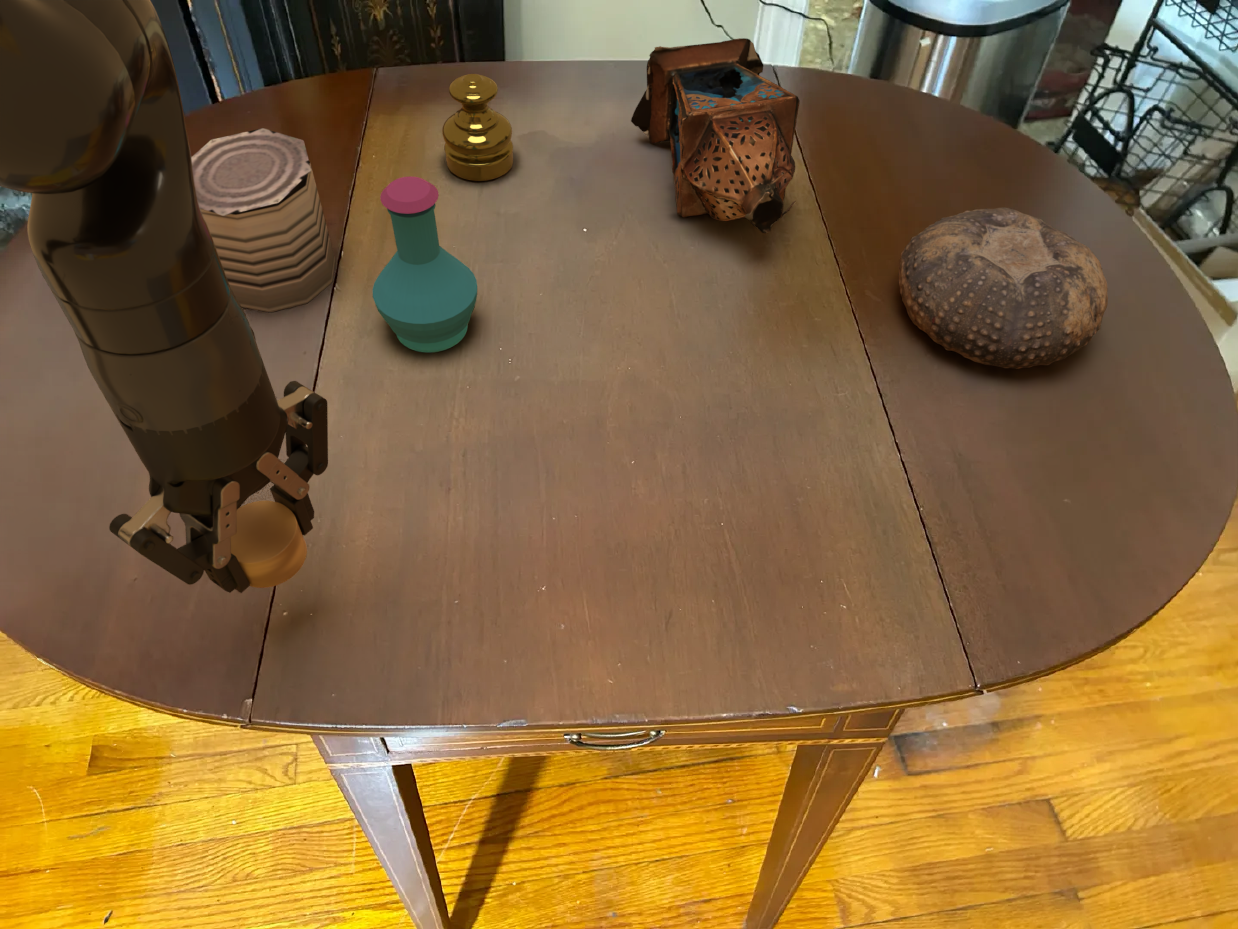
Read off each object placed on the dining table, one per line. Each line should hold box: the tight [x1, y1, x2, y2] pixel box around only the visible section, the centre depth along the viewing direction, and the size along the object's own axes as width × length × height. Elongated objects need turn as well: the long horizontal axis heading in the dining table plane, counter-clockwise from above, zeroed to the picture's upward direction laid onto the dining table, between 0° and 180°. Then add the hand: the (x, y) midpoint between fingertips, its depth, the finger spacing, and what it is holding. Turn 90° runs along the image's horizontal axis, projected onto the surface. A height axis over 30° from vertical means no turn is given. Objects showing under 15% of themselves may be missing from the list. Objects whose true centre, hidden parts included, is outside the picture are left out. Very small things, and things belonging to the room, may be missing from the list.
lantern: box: [630, 37, 801, 234], centre depth 94 cm, size 16×16×25 cm
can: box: [191, 127, 336, 313], centre depth 84 cm, size 11×11×12 cm
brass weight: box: [441, 73, 514, 182], centre depth 97 cm, size 7×7×10 cm
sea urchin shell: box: [898, 207, 1109, 370], centre depth 85 cm, size 19×19×10 cm
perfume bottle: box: [371, 176, 478, 353], centre depth 79 cm, size 9×9×15 cm
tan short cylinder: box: [231, 500, 308, 589], centre depth 58 cm, size 5×5×3 cm
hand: (267, 553), depth 59 cm, fingers closed on tan short cylinder, 4 cm apart
